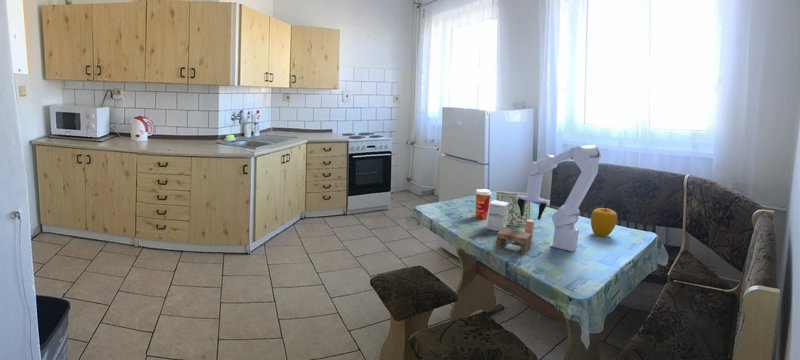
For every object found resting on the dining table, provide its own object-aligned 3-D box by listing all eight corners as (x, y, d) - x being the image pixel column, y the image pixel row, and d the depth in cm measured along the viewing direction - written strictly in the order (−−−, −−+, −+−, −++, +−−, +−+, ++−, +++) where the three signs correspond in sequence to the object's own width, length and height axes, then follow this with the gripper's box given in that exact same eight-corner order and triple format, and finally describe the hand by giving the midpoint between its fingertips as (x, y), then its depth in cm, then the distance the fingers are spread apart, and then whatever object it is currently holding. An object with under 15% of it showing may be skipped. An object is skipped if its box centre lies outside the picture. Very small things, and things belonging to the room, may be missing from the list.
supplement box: (486, 229, 207) (488, 203, 204) (491, 225, 214) (493, 199, 211) (502, 232, 204) (505, 205, 201) (506, 228, 210) (509, 202, 207)
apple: (617, 240, 200) (621, 213, 197) (591, 238, 202) (595, 210, 199) (611, 232, 210) (615, 206, 207) (586, 230, 212) (590, 203, 209)
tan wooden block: (533, 233, 205) (534, 220, 204) (521, 244, 190) (522, 231, 189) (526, 231, 207) (528, 219, 205) (514, 243, 192) (515, 229, 190)
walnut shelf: (530, 248, 186) (532, 233, 185) (524, 254, 179) (526, 239, 178) (502, 241, 192) (503, 227, 191) (495, 247, 185) (497, 232, 184)
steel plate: (520, 249, 186) (520, 246, 186) (516, 252, 182) (517, 250, 182) (508, 246, 189) (509, 243, 189) (504, 249, 185) (505, 247, 184)
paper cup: (470, 216, 226) (472, 189, 222) (483, 214, 229) (485, 188, 226) (479, 220, 219) (481, 193, 216) (492, 219, 222) (494, 192, 219)
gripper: (552, 189, 199) (549, 218, 203) (520, 183, 207) (517, 212, 210) (548, 192, 193) (545, 222, 197) (515, 186, 201) (512, 215, 204)
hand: (530, 217), depth 203 cm, fingers open, 7 cm apart
